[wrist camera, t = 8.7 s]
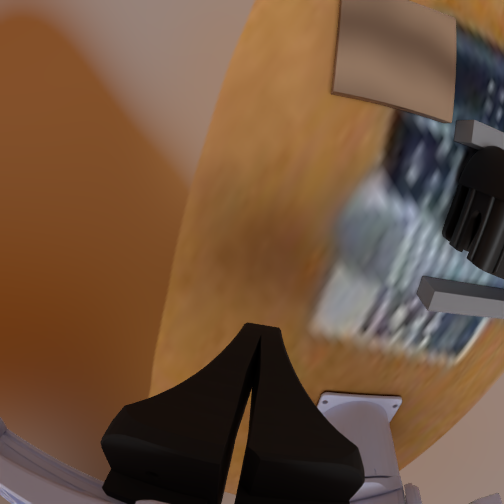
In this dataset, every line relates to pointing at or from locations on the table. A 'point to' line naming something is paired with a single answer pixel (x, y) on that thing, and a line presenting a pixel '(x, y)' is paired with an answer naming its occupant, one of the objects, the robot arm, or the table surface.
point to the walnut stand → (396, 56)
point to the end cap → (480, 211)
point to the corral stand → (458, 293)
